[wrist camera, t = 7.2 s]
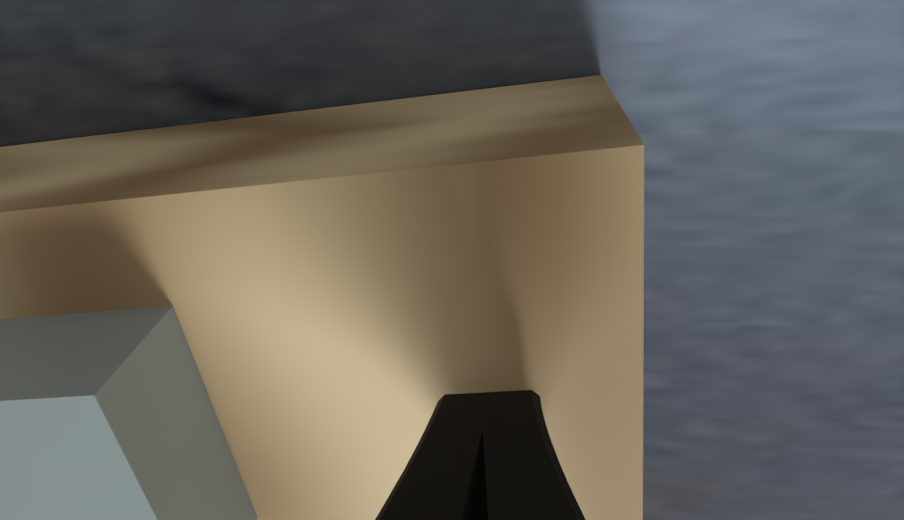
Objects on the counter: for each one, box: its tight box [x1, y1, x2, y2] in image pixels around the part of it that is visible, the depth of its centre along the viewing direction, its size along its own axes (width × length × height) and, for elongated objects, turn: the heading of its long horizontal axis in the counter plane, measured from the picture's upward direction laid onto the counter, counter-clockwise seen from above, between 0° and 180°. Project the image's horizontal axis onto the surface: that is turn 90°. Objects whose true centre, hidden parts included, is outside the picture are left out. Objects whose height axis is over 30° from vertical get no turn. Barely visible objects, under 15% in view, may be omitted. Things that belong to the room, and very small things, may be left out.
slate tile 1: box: [0, 306, 258, 520], centre depth 10 cm, size 4×4×2 cm
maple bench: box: [0, 75, 644, 520], centre depth 13 cm, size 14×13×4 cm
